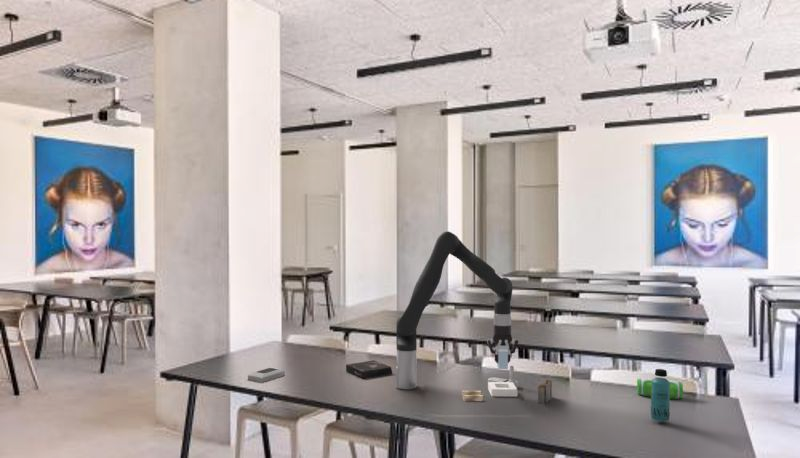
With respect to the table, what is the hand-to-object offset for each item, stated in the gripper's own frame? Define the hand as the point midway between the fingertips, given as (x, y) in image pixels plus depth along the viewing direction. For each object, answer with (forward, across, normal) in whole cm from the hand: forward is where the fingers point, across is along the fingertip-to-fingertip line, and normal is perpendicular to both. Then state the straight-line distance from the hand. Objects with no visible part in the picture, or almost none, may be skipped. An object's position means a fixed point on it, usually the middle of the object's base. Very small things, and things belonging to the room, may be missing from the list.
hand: (502, 362), depth 245 cm
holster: (+14, -14, -8) cm, 21 cm away
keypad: (+14, -110, +25) cm, 114 cm away
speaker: (+15, +68, -1) cm, 69 cm away
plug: (+2, 0, 0) cm, 2 cm away
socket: (+14, 0, 0) cm, 14 cm away
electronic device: (+15, +3, +14) cm, 21 cm away
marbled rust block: (+15, +17, -7) cm, 24 cm away
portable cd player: (+15, -61, +35) cm, 72 cm away
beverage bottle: (+15, +54, -33) cm, 65 cm away
